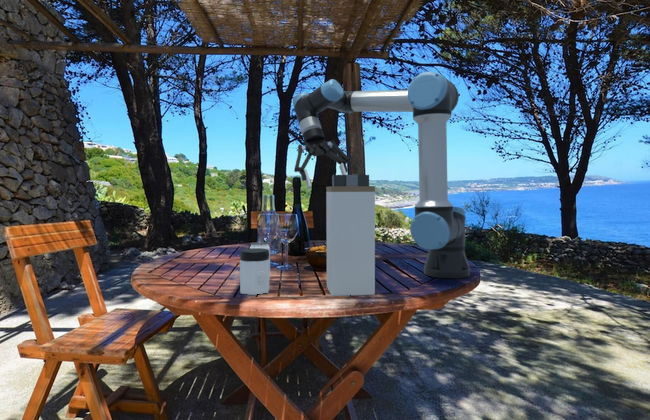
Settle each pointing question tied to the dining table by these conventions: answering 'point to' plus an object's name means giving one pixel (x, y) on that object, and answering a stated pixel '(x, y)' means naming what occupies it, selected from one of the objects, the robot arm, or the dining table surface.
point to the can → (264, 246)
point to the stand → (350, 240)
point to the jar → (254, 271)
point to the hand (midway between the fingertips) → (328, 184)
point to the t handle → (350, 180)
